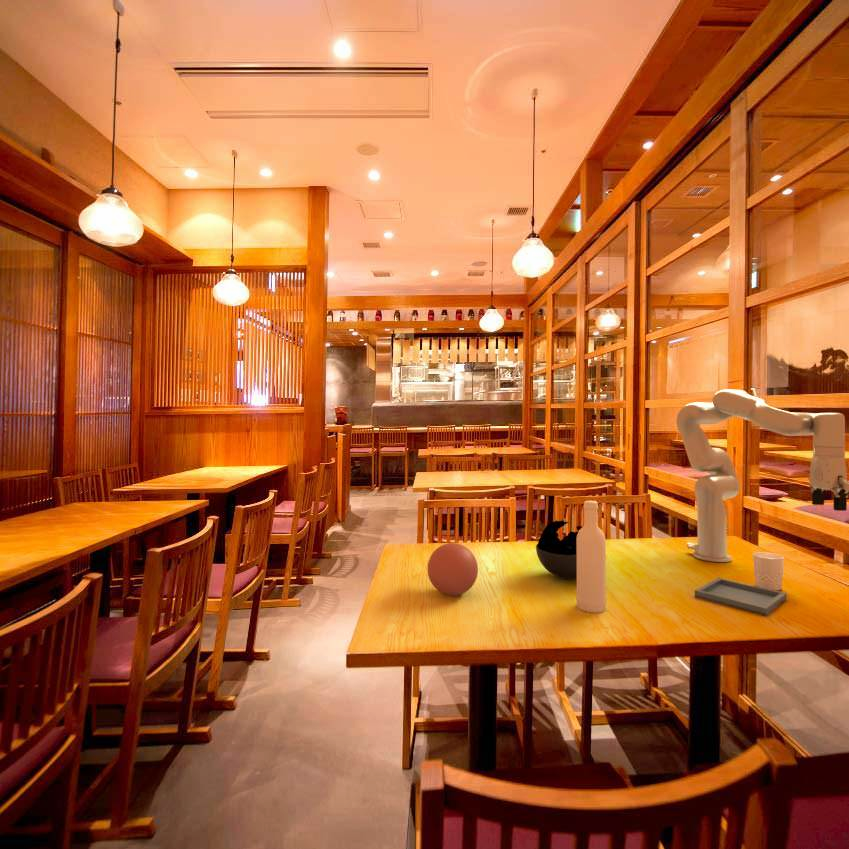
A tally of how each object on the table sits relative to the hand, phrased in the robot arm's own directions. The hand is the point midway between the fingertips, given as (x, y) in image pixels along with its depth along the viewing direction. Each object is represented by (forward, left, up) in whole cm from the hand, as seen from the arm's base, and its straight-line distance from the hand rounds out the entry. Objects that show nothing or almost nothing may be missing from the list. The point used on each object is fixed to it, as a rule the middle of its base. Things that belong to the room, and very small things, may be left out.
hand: (828, 507), depth 148 cm
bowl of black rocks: (-58, -53, -26) cm, 83 cm away
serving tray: (-14, -30, -25) cm, 42 cm away
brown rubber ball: (-73, -92, -26) cm, 121 cm away
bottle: (-38, -70, -26) cm, 84 cm away
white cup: (-12, -12, -26) cm, 31 cm away
